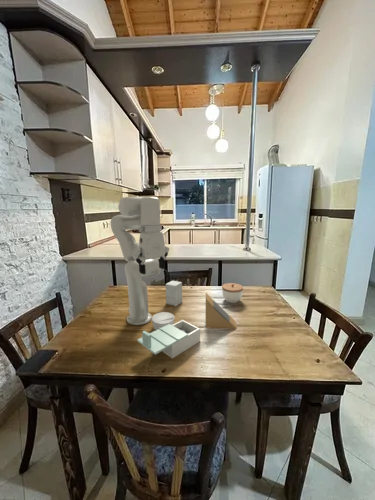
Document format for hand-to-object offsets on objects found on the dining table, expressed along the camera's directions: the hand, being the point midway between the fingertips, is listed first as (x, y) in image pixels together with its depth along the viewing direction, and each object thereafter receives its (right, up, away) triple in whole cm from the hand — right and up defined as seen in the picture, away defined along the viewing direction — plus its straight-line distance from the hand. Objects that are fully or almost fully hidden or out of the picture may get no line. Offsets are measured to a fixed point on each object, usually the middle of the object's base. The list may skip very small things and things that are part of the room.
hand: (152, 270), depth 94 cm
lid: (+4, -27, -2) cm, 27 cm away
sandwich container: (+31, -29, +21) cm, 47 cm away
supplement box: (+6, -24, +45) cm, 52 cm away
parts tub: (+10, -32, +5) cm, 34 cm away
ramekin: (+2, -29, +19) cm, 35 cm away
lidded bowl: (+42, -23, +48) cm, 67 cm away
